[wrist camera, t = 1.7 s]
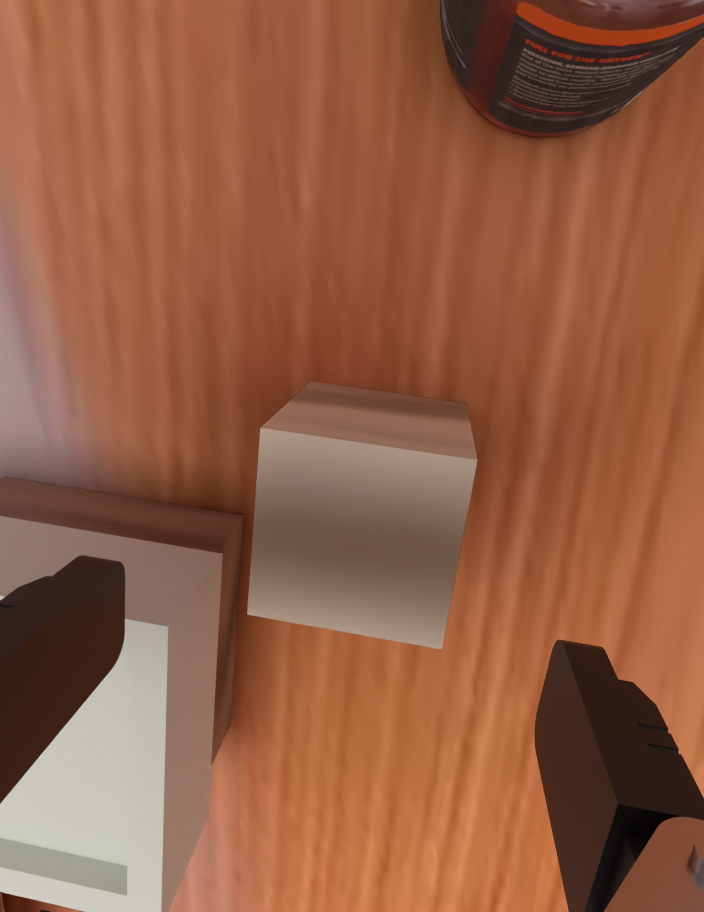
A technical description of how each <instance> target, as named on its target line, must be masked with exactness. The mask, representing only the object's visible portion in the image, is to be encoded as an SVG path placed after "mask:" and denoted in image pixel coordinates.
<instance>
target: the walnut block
mask: <svg viewBox="0 0 704 912" xmlns="http://www.w3.org/2000/svg"><path fill="white" fill-rule="evenodd" d="M0 516H4V517H10V518H16V519H22V520H27V521H33V522H39V523H45V524H51V525H57V526H63V527H68V528H74V529H80V530H86V531H92V532H98V533H104V534H109V535H115V536H121V537H127V538H133V539H139V540H145V541H151V542H156V543H162V544H168V545H174V546H180V547H186V548H192V549H197V550H203V551H209V552H215V553H221V554H223V557H222V575H221V594H220V612H219V631H218V649H217V667H216V686H215V704H214V722H213V741H212V759H211V766H212V763H213V761H214V759H215V757H216V755H217V752H218V750H219V748H220V746H221V744H222V741H223V739H224V737H225V735H226V733H227V730H228V728H229V726H230V724H231V712H232V696H233V680H234V664H235V648H236V632H237V616H238V600H239V584H240V568H241V552H242V536H243V520H244V515H239V514H232V513H226V512H220V511H214V510H208V509H201V508H195V507H189V506H183V505H177V504H170V503H164V502H158V501H152V500H146V499H139V498H133V497H127V496H121V495H114V494H108V493H102V492H96V491H90V490H83V489H77V488H71V487H65V486H59V485H52V484H46V483H40V482H34V481H28V480H21V479H15V478H9V477H4V478H2V479H0Z"/></svg>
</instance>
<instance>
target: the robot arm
mask: <svg viewBox="0 0 704 912" xmlns="http://www.w3.org/2000/svg"><path fill="white" fill-rule="evenodd" d="M124 637H125V568H124V565H123V564H122V563H121V562H119V561H114V560H108V559H103V558H97V557H91V556H86V555H80V556H78V557H76V558H75V559H74V560H72V561H71V562H70V563H68V564H67V565H66V566H65V567H63V568H62V569H61V570H59V571H58V572H57V573H56V574H54V575H53V576H52V577H51V576H45V577H42V578H40V579H37V580H35V581H32V582H30V583H27V584H25V585H22V586H20V587H18V588H16V589H15V590H14V591H12V592H11V593H10V594H8V595H7V596H6V597H4V598H3V599H1V600H0V804H1V802H2V801H3V800H4V799H5V798H6V796H7V795H8V794H9V793H10V792H11V790H12V789H13V788H14V787H15V786H16V784H17V783H18V782H19V781H20V780H21V778H22V777H23V776H24V775H25V773H26V772H27V771H28V770H29V769H30V767H31V766H32V765H33V764H34V763H35V761H36V760H37V759H38V758H39V757H40V755H41V754H42V753H43V752H44V751H45V749H46V748H47V747H48V746H49V745H50V743H51V742H52V741H53V740H54V739H55V737H56V736H57V735H58V734H59V732H60V731H61V730H62V729H63V728H64V726H65V725H66V724H67V723H68V722H69V720H70V719H71V718H72V717H73V716H74V714H75V713H76V712H77V711H78V710H79V708H80V707H81V706H82V705H83V704H84V702H85V701H86V700H87V699H88V697H89V696H90V695H91V694H92V693H93V691H94V690H95V689H96V688H97V687H98V685H99V684H100V683H101V682H102V681H103V679H104V678H105V677H106V676H107V675H108V673H109V672H110V671H111V670H112V668H113V667H114V666H115V664H116V662H117V660H118V658H119V656H120V653H121V650H122V647H123V643H124ZM535 749H536V755H537V760H538V765H539V769H540V774H541V779H542V784H543V789H544V793H545V798H546V803H547V808H548V813H549V818H550V822H551V827H552V832H553V837H554V842H555V847H556V851H557V856H558V861H559V866H560V871H561V876H562V880H563V885H564V890H565V895H566V900H567V905H568V909H569V912H704V798H703V796H702V794H701V792H700V790H699V788H698V786H697V784H696V782H695V780H694V778H693V776H692V775H691V773H690V771H689V769H688V767H687V765H686V763H685V761H684V759H683V757H682V755H681V754H679V753H678V750H679V749H678V747H677V745H676V743H675V741H674V739H673V737H672V735H671V734H669V733H668V727H667V726H666V724H665V722H664V720H663V718H662V716H661V714H660V712H659V710H658V708H657V706H656V704H655V703H654V702H653V701H652V700H651V699H649V698H648V697H647V696H646V695H645V694H644V693H643V692H642V691H641V690H640V689H639V688H638V687H637V686H636V685H635V684H634V683H633V682H629V681H623V680H618V678H617V676H616V674H615V672H614V669H613V667H612V665H611V663H610V660H609V658H608V656H607V654H606V652H605V650H604V649H603V648H602V647H599V646H593V645H588V644H582V643H576V642H570V641H565V640H557V641H556V643H555V645H554V647H553V650H552V653H551V658H550V662H549V666H548V670H547V674H546V678H545V682H544V686H543V690H542V694H541V698H540V702H539V706H538V710H537V715H536V721H535ZM40 912H49V911H45V910H41V911H40Z"/></svg>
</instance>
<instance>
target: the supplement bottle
mask: <svg viewBox="0 0 704 912" xmlns="http://www.w3.org/2000/svg"><path fill="white" fill-rule="evenodd" d="M440 16H441V30H442V39H443V43H444V47H445V53H446V57H447V61H448V64H449V67H450V69H451V72H452V74H453V76H454V78H455V80H456V82H457V84H458V85H459V87H460V89H461V91H462V92H463V93H464V95H465V96H466V98H467V99H468V100H469V101H470V103H471V104H472V105H473V106H474V107H475V108H476V109H477V110H478V111H479V112H480V113H481V114H483V115H484V116H485V117H486V118H488V119H489V120H490V121H491V122H493V123H495V124H496V125H498V126H500V127H502V128H504V129H507V130H510V131H512V132H515V133H520V134H524V135H529V136H536V137H551V136H561V135H568V134H572V133H577V132H580V131H582V130H585V129H587V128H589V127H592V126H594V125H596V124H598V123H600V122H602V121H604V120H605V119H607V118H608V117H610V116H612V115H614V114H615V113H617V112H618V111H620V110H621V109H622V108H624V107H625V106H626V105H628V104H629V103H630V102H631V101H632V100H634V99H635V98H636V97H637V96H638V95H639V94H641V93H642V92H643V91H644V90H645V89H646V88H647V87H648V86H649V85H650V84H651V83H652V82H654V81H655V80H656V79H657V78H658V77H660V76H661V75H662V74H663V73H664V72H665V71H666V70H667V69H668V68H669V67H670V66H672V65H673V64H674V63H675V62H676V61H677V60H679V59H680V58H681V57H682V56H683V55H684V54H685V53H686V52H687V51H688V50H689V49H690V48H692V47H693V46H694V45H695V44H696V43H697V42H698V41H699V40H700V39H701V38H703V37H704V0H440Z"/></svg>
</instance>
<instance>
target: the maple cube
mask: <svg viewBox="0 0 704 912" xmlns="http://www.w3.org/2000/svg"><path fill="white" fill-rule="evenodd" d="M477 461H478V460H477V455H476V450H475V445H474V439H473V434H472V429H471V424H470V419H469V414H468V409H467V404H466V403H462V402H455V401H448V400H441V399H433V398H426V397H419V396H412V395H405V394H398V393H391V392H384V391H377V390H370V389H363V388H356V387H349V386H342V385H334V384H327V383H320V382H313V381H311V382H310V383H309V384H308V385H306V386H305V387H304V388H303V389H302V390H301V391H300V392H299V393H298V394H297V395H296V396H294V397H293V398H292V399H291V400H290V401H289V402H288V403H287V404H286V405H285V406H284V407H282V408H281V409H280V410H279V411H278V412H277V413H276V414H275V415H274V416H273V417H271V418H270V419H269V420H268V421H267V422H266V423H265V424H264V425H263V426H262V427H261V428H260V440H259V454H258V468H257V482H256V496H255V510H254V525H253V539H252V553H251V567H250V581H249V595H248V609H247V615H252V616H258V617H263V618H269V619H274V620H280V621H285V622H291V623H297V624H302V625H308V626H313V627H319V628H324V629H330V630H336V631H341V632H347V633H352V634H358V635H364V636H369V637H375V638H380V639H386V640H391V641H397V642H403V643H408V644H414V645H419V646H425V647H431V648H436V649H442V646H443V641H444V636H445V630H446V625H447V620H448V614H449V609H450V604H451V599H452V593H453V588H454V583H455V577H456V572H457V567H458V561H459V556H460V551H461V546H462V540H463V535H464V530H465V524H466V519H467V514H468V508H469V503H470V498H471V493H472V487H473V482H474V477H475V471H476V466H477Z"/></svg>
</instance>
